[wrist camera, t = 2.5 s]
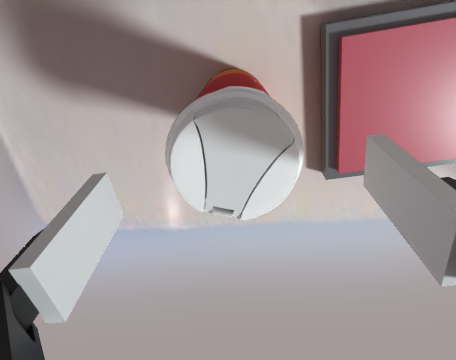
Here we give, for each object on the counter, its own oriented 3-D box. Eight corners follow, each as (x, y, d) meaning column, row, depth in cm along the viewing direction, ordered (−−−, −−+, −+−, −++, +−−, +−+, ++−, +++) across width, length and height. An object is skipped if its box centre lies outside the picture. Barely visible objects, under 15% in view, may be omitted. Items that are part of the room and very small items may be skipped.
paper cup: (262, 146, 30) (281, 238, 18) (186, 129, 29) (153, 214, 17) (286, 65, 26) (333, 113, 14) (200, 44, 25) (170, 74, 13)
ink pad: (320, 24, 24) (328, 25, 22) (503, -9, 23) (529, -11, 21) (321, 172, 31) (328, 183, 29) (462, 153, 30) (479, 164, 28)
